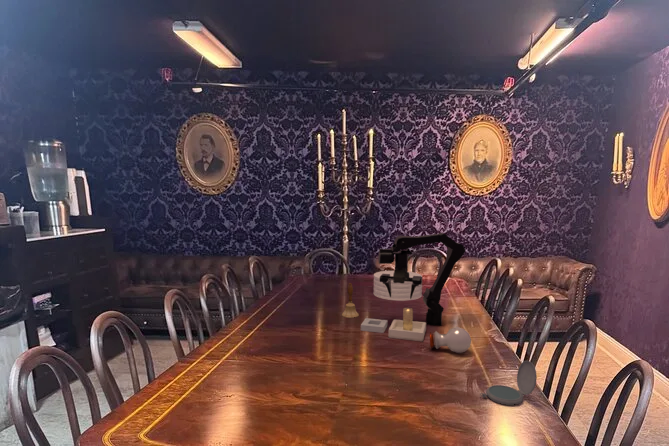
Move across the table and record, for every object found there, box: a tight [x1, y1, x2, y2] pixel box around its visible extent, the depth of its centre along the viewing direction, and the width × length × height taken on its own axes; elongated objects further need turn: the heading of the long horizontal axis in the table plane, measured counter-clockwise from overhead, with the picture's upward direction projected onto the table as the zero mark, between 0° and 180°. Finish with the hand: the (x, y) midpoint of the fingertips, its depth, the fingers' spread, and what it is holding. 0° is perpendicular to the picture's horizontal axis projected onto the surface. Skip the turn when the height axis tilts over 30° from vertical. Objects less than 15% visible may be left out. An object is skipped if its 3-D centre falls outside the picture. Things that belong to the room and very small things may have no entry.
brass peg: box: [402, 307, 414, 331], centre depth 176 cm, size 4×4×10 cm
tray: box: [388, 319, 427, 342], centre depth 176 cm, size 14×14×4 cm
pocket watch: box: [479, 360, 538, 406], centre depth 122 cm, size 10×11×15 cm
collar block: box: [360, 317, 388, 334], centre depth 184 cm, size 10×10×2 cm
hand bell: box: [341, 282, 359, 319], centre depth 202 cm, size 8×8×16 cm
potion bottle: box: [429, 326, 472, 354], centre depth 158 cm, size 9×10×15 cm
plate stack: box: [373, 270, 423, 302], centre depth 243 cm, size 28×28×12 cm
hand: (400, 297), depth 189 cm, fingers open, 9 cm apart
